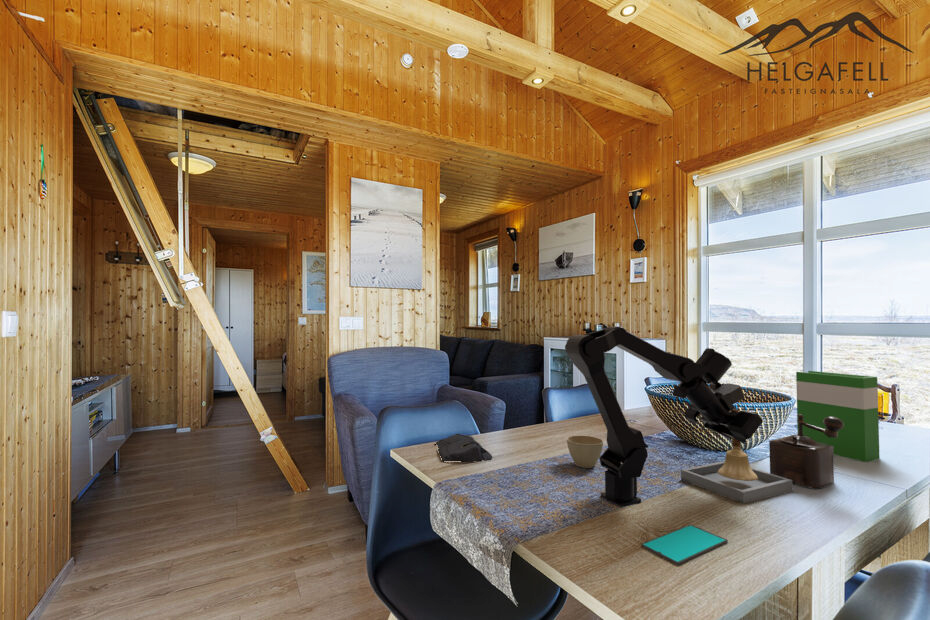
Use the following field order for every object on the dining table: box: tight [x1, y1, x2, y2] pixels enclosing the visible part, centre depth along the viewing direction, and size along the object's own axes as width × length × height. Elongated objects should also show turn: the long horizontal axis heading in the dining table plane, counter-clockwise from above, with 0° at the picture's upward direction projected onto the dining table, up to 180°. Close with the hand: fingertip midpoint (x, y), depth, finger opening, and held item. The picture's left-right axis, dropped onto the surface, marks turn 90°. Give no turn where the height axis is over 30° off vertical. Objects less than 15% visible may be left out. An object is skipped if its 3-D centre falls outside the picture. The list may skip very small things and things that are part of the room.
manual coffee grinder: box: [768, 414, 844, 490], centre depth 108 cm, size 16×11×18 cm
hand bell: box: [718, 408, 758, 481], centre depth 106 cm, size 8×8×16 cm
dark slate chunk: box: [435, 433, 493, 463], centre depth 134 cm, size 15×22×5 cm
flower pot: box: [566, 434, 604, 469], centre depth 122 cm, size 10×10×7 cm
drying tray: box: [680, 460, 794, 505], centre depth 107 cm, size 18×16×2 cm
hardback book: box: [795, 370, 881, 463], centre depth 134 cm, size 18×7×24 cm, turn 23°
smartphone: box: [641, 524, 728, 567], centre depth 78 cm, size 7×1×15 cm
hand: (740, 440), depth 106 cm, fingers closed on hand bell
